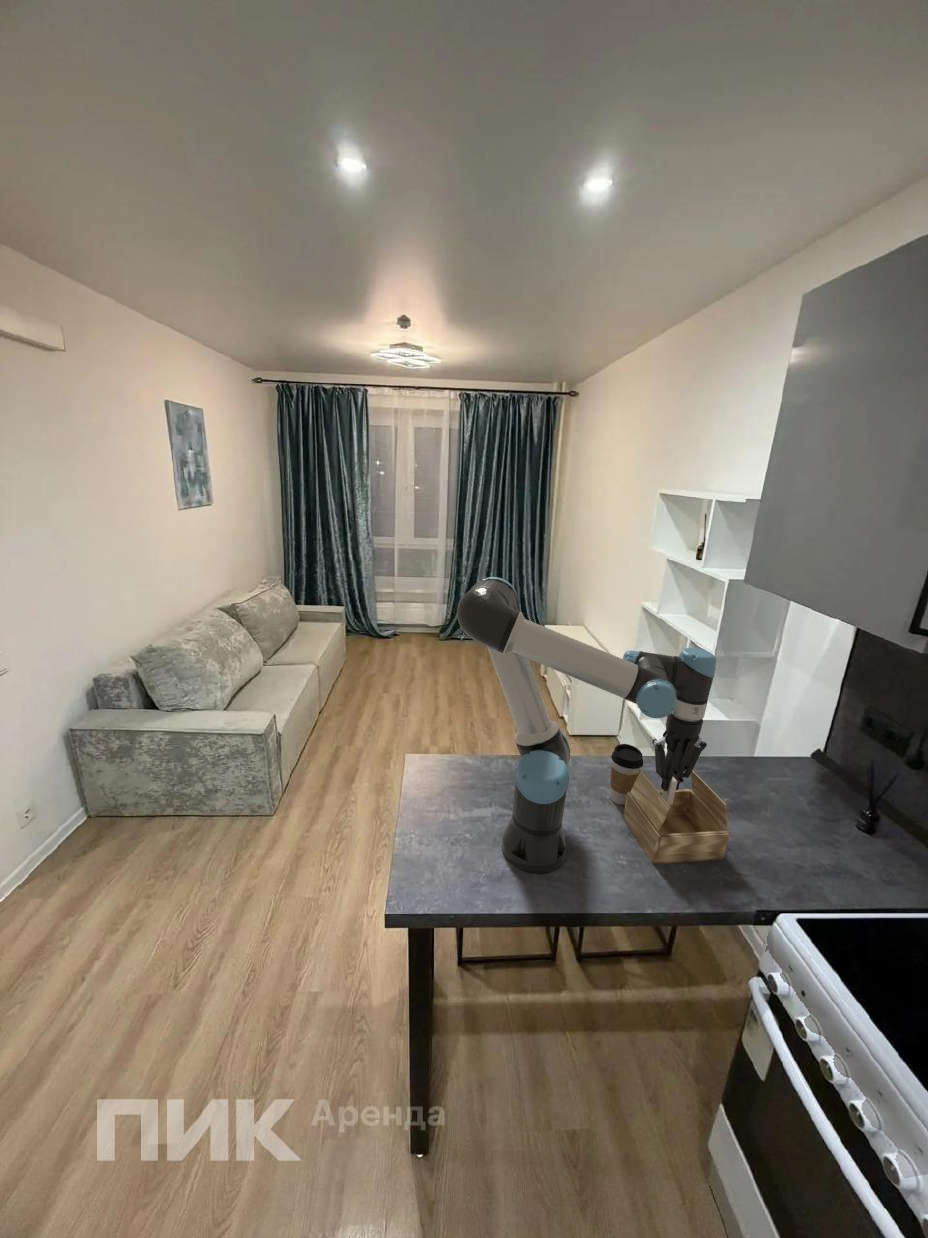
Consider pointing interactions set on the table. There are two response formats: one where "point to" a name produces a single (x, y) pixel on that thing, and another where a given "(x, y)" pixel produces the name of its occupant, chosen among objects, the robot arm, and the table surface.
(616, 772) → the coffee cup
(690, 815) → the crate
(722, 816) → the flap
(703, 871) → the table surface
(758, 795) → the table surface
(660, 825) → the flap
